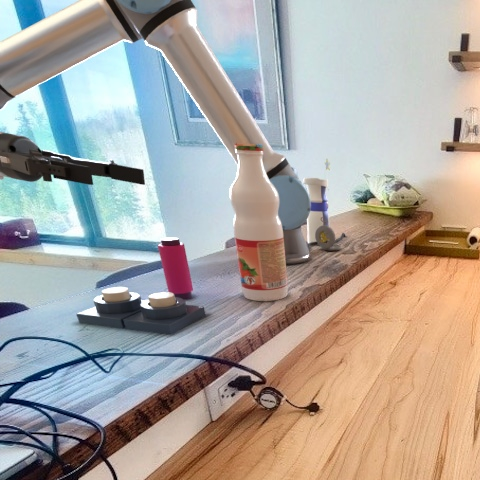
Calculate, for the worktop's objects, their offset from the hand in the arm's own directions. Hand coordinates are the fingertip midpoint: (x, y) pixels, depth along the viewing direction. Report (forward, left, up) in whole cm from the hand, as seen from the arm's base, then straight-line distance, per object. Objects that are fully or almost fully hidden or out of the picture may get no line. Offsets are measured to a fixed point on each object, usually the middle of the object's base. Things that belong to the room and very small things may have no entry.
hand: (118, 176), depth 78 cm
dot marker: (0, +8, -22) cm, 23 cm away
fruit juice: (-7, +23, -22) cm, 32 cm away
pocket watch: (-57, +20, -22) cm, 64 cm away
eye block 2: (+13, +14, -22) cm, 29 cm away
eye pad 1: (+13, +5, -19) cm, 23 cm away
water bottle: (-67, +13, -22) cm, 71 cm away
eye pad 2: (+13, +14, -19) cm, 27 cm away
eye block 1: (+13, +5, -22) cm, 26 cm away
